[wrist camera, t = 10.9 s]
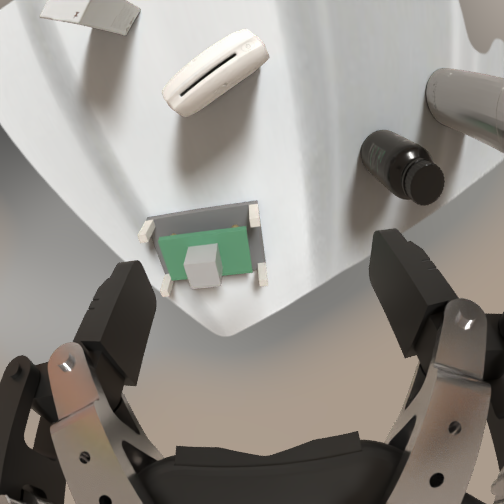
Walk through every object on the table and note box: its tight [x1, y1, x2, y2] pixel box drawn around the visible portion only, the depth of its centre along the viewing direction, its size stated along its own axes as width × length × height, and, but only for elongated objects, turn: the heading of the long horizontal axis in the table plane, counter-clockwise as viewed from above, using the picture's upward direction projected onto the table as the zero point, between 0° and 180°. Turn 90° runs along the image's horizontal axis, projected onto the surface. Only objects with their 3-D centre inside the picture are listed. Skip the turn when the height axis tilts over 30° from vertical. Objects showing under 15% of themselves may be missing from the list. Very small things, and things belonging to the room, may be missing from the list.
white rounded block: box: [162, 29, 269, 117], centre depth 24 cm, size 10×4×12 cm, turn 126°
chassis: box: [137, 201, 268, 297], centre depth 40 cm, size 16×11×5 cm
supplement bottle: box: [361, 130, 445, 206], centre depth 30 cm, size 7×7×12 cm
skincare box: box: [39, 0, 141, 36], centre depth 18 cm, size 6×4×12 cm
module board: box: [158, 226, 253, 289], centre depth 37 cm, size 12×7×5 cm, turn 97°
